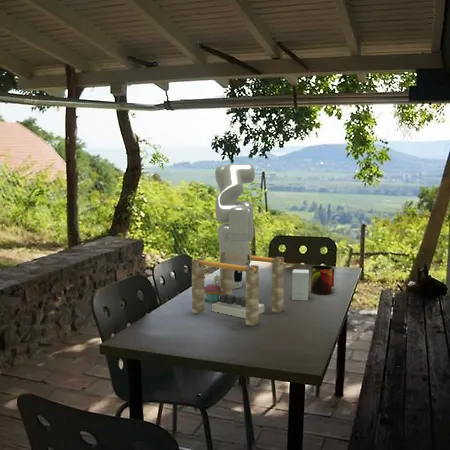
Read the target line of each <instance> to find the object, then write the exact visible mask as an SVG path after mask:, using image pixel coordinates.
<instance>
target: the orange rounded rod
mask: <svg viewBox="0 0 450 450" xmlns="http://www.w3.org/2000/svg"><path fill="white" fill-rule="evenodd" d="M199 265H203V266H204V267H211V268H219V269H220V268H224V269H231V270H238V271H243V272H245V273H246V267H247V266H240V265H233V264H225V263H220V262H218V261H217V262H216V261H209V260H204V261H203V260H199ZM254 272H256V268H254Z"/></svg>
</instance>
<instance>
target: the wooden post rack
mask: <svg viewBox="0 0 450 450" xmlns="http://www.w3.org/2000/svg"><path fill="white" fill-rule="evenodd" d="M271 258H272V263H271V312H272V313H276V314H278V313H281V312H283V311H284V290H285V289H284V284H285V283H284V279H285V278H284V277H285V276H284V275H285V263H284V260H285V258H284V257H283V256H276V257H271ZM280 259H281V261H282V262H281V263H280ZM199 260H203V261H205V258H204V257H197V258H193V259H191V296H192V297H191V310H192V311H191V313H192V312H194V313H193V314H195V313H200V312H202V313H204V312H203V311H205V309H206V307H205V304H206V302H205V301H206V300H205V296H206V295H205V293H204V288H205V266H203V265H199ZM219 263H225V252H221V257H220V256H219ZM225 264H226V263H225ZM254 268H256V272H254ZM259 273H260V271H259V265H256V264H255V265H254V264H251V265H250V267H248V266H247V267H246V272H245V298H246V318H245V325H246V326H250V327H253V326H255V325H257V324H259V315H260V314H259V304H260V303H259V300H260V298H259V296H260V295H259V291H260V290H259V280H260V279H259V278H260V277H259ZM219 276H220V280H221V294H220V295H222V294H229V295H233V291H232V290H233V289H232V270H231V269H224V268H219ZM200 314H201V313H200Z"/></svg>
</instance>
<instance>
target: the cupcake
mask: <svg viewBox="0 0 450 450" xmlns="http://www.w3.org/2000/svg"><path fill="white" fill-rule="evenodd" d="M217 276H218V275H217V274H216V275H215V277H214V278H215V280H214V284H207V285H205V286H204V295H205V296H206V299H207V301H208V300H210V301H209V302H217V301H216V300H218V301H219V300H220V295H221V287H220V286H218V285H217V281H216V279H217Z"/></svg>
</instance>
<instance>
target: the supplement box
mask: <svg viewBox="0 0 450 450" xmlns="http://www.w3.org/2000/svg"><path fill="white" fill-rule="evenodd" d="M291 280H292V281H291V284H292V285H291V300H293V301H305V302H306V301H309V290H310V289H309V286H310V285H309V284H310V270H309V269H297V268H296V269H294V268H293V270H292V278H291Z"/></svg>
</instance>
